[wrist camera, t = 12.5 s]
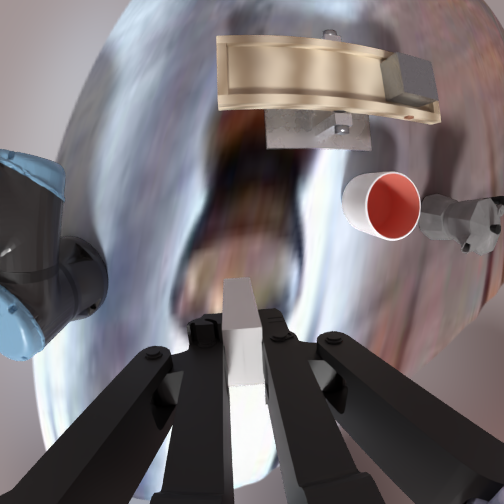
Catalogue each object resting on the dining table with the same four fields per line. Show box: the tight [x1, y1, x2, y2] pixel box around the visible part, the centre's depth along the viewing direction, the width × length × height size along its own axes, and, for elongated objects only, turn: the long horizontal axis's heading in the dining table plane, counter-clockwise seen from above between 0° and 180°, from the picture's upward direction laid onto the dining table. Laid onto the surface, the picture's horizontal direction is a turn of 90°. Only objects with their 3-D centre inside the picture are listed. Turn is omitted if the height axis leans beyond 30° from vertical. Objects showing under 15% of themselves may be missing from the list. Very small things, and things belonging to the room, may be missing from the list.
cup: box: [342, 171, 421, 241], centre depth 43 cm, size 10×10×10 cm
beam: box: [217, 35, 441, 125], centre depth 33 cm, size 32×11×4 cm, turn 93°
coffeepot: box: [418, 194, 504, 256], centre depth 40 cm, size 15×9×18 cm, turn 126°
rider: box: [380, 52, 438, 107], centre depth 30 cm, size 6×6×5 cm
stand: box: [264, 30, 372, 151], centre depth 38 cm, size 18×18×11 cm
